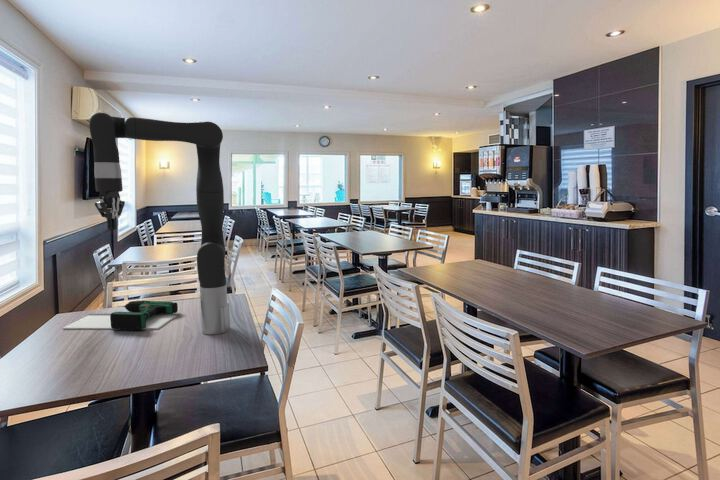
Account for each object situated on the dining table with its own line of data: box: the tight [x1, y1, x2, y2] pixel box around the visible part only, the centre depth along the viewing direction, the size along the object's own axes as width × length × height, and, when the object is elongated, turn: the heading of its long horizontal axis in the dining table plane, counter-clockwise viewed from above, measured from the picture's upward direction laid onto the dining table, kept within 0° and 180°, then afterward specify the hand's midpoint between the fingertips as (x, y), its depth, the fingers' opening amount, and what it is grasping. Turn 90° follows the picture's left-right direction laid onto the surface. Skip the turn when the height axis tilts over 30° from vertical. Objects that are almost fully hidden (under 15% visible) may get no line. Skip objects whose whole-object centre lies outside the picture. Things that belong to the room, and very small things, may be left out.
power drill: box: [110, 300, 179, 331], centre depth 165 cm, size 6×29×25 cm
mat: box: [62, 313, 178, 330], centre depth 163 cm, size 36×16×1 cm, turn 89°
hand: (112, 229), depth 137 cm, fingers closed
